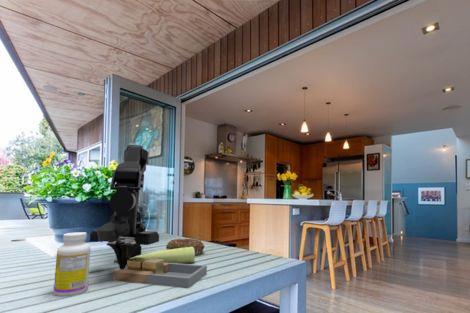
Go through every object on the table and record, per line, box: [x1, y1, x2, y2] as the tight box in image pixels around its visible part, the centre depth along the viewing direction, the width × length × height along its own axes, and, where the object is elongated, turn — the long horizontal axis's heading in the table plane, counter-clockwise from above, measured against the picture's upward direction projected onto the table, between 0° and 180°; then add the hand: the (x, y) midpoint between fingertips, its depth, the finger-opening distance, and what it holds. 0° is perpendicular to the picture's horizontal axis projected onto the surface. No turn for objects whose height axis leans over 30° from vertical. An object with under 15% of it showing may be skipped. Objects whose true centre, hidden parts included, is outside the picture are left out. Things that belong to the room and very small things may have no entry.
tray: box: [146, 263, 208, 289], centre depth 72 cm, size 11×12×2 cm
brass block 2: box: [142, 258, 164, 275], centre depth 74 cm, size 4×4×4 cm
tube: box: [130, 247, 196, 264], centre depth 87 cm, size 6×5×20 cm
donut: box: [165, 238, 205, 256], centre depth 103 cm, size 14×14×5 cm
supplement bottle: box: [53, 231, 91, 297], centre depth 63 cm, size 7×7×13 cm
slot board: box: [112, 262, 169, 285], centre depth 75 cm, size 10×12×2 cm
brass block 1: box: [126, 257, 149, 271], centre depth 75 cm, size 4×4×4 cm
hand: (122, 268), depth 76 cm, fingers closed
